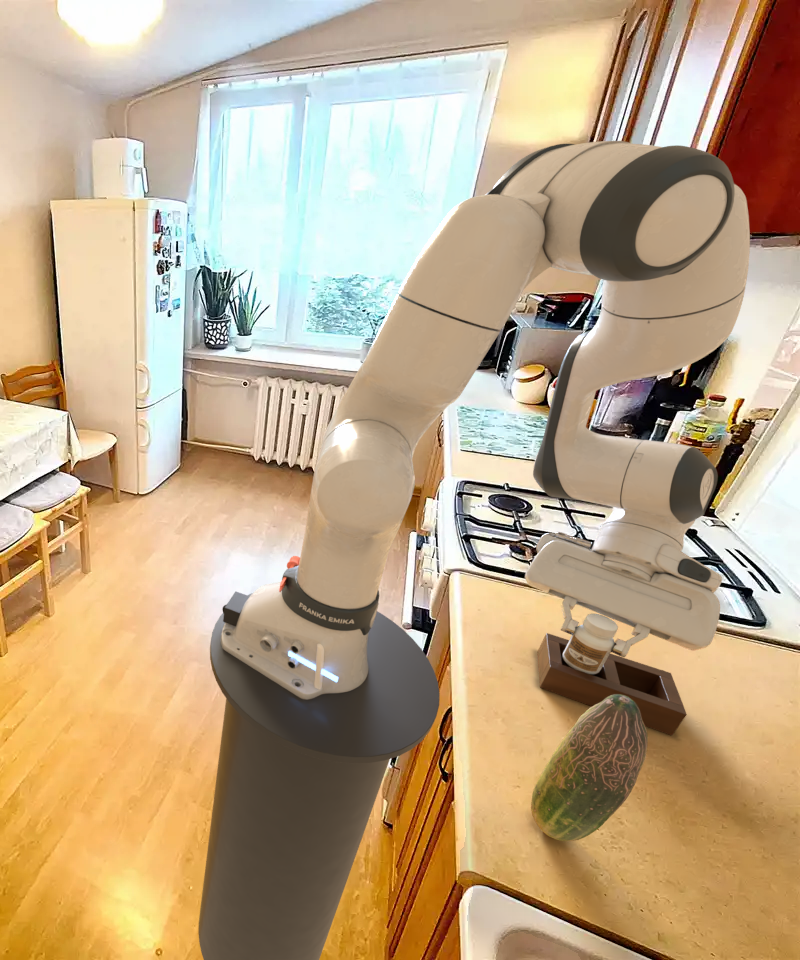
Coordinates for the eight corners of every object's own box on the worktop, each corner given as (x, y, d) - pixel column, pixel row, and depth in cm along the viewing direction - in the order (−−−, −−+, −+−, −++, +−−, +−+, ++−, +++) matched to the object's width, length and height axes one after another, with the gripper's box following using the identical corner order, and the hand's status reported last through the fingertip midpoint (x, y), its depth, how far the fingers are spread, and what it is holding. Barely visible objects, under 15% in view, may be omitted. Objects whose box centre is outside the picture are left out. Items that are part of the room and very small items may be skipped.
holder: (672, 735, 67) (687, 714, 65) (539, 687, 74) (550, 667, 72) (657, 693, 73) (671, 672, 72) (536, 652, 80) (546, 632, 78)
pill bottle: (557, 662, 74) (578, 620, 70) (566, 647, 76) (587, 606, 73) (595, 680, 71) (619, 638, 67) (602, 665, 73) (626, 623, 70)
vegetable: (521, 787, 60) (590, 662, 51) (586, 819, 57) (672, 691, 48) (519, 833, 56) (595, 704, 47) (591, 869, 53) (687, 739, 44)
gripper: (547, 519, 77) (507, 601, 75) (740, 582, 64) (698, 682, 62) (543, 534, 82) (506, 610, 80) (722, 595, 69) (683, 688, 67)
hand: (592, 642), depth 71 cm, fingers closed on pill bottle, 4 cm apart
